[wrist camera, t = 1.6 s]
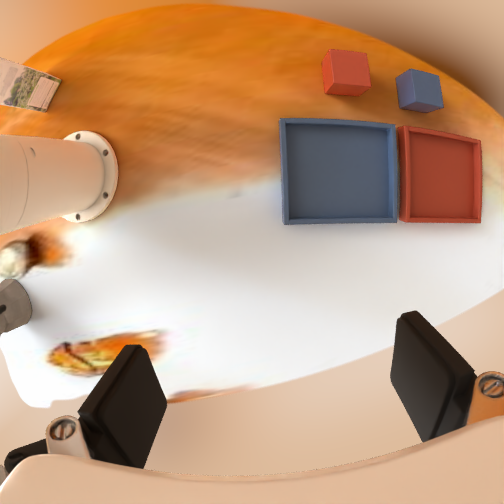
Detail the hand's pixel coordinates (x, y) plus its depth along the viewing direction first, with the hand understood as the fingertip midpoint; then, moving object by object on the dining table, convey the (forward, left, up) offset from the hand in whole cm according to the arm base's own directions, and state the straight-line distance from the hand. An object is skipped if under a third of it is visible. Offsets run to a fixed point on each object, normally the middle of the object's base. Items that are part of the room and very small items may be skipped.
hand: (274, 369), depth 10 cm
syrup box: (-40, +2, -26) cm, 48 cm away
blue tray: (+4, +11, -26) cm, 29 cm away
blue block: (+7, +27, -26) cm, 38 cm away
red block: (-2, +22, -26) cm, 34 cm away
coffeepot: (-31, -33, -26) cm, 53 cm away
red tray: (+17, +20, -26) cm, 37 cm away
